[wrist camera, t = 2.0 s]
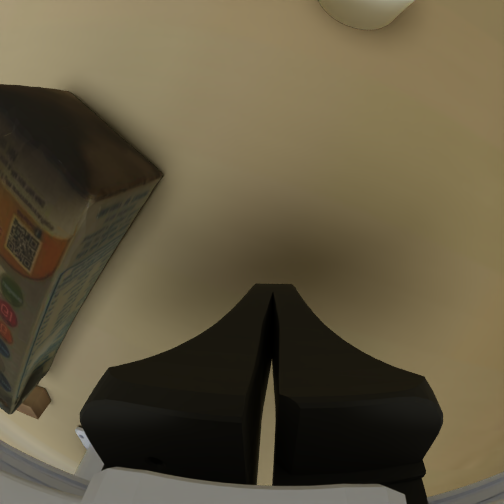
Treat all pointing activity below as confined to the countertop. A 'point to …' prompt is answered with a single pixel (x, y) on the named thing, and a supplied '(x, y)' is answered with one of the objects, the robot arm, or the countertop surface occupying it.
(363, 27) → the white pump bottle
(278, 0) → the countertop surface
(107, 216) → the beverage carton
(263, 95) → the countertop surface
